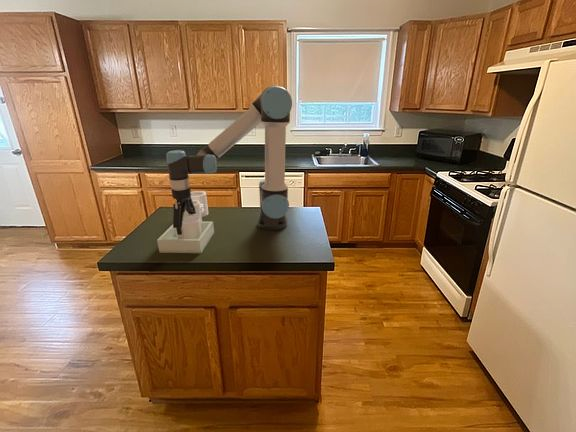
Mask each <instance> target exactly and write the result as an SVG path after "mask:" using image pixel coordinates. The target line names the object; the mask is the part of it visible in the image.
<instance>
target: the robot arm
mask: <svg viewBox="0 0 576 432" xmlns="http://www.w3.org/2000/svg"><path fill="white" fill-rule="evenodd" d="M292 107H293V99H292V96H291V93H290V92H289V91H288V90H287V89H286V88H285V87H283V86H280V85H271V86H269V87H267V88H265V89H264V90H263V91H262V92H261V93H260V95H259V96H257V98H256V99H255V100H254V101H252V103H250V107H249V108H248V109H247V110H245V112H244V113H243V114H241V115H240V116H238V118H236V120H235V121H233V122H232V123H231V124H230V125H229V126H227V127H226V128H225V129H224V130H223V131H222V132H221V133H220V134H218V135H217V136H216V137H215V138H214V139H212V140H211V141H210V142H209V143H208V144H207V145H205V146H204V147H203V148H202V149H200V150H198V151H197V153H196V155H194V154H193V155H186V152H185V151H184V150H180V149H179V150H178V149H177V150H170V151H168V152H166V165H167V171H168V177H169V180H168V181H169V183H170V188H171V190H170V191H171V196H172V197H171V198H173V199H175V200H176V203H172V204H173V206H172V207H173V217H172V219H173V221H172V222H173V223H172V225H173V228H176V230H177V236H178V239H185V236H184V230H183V226H182V221H183V214H184V212H185V209H186V211H187V212H188V217H189V216H194V214H196V211H195V207H194V205H193V202H192V199H191V192H192V191H191V188H190V178H189V175H193V174H194V175H195V174H197V175H198V174H199V175H200V174H208V175H209V174H213V173H216V172H217V170H218V169H217V168H218V165H217V164H218V163H217V162H218V161H217V160H218V159H219V158H221V157H222V156H223V155H224V154H225V153H226V152H228V151H229V150H230V149H231V148H232V147H233V146H235V145H236V144H238V143H239V142H240V141H241V140H242V139H243V138H245V136H247V135H248V134H249V133H250V132H252V131H253V130H254V129H255V128H256V127H257V126H259V125H260V124H261V123H262V124H263V125H264V180H261V181H259V183H258V189H259V191H258V192H259V206H260V207H259V208H260V209H259V215H258V218H257V227H258V228H259V229H262V230H265V231H277V230H278V231H279V230H282V229H284V228H286V227H287V226H288V219H287V216H286V215H287V213H288V211H289V209H290V202H289V200H288V197H289V195H288V194H289V189H288V188H289V186H288V185H287V184H286V181H285V180H286V179H285V178H286V177H285V176H286V141H287V140H286V137H287V136H286V134H287V126H288V125H289V124H290V123H291V122H290V121H291V110H292ZM192 208H193V209H192Z"/></svg>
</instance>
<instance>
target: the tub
mask: <svg viewBox="0 0 576 432" xmlns="http://www.w3.org/2000/svg"><path fill="white" fill-rule="evenodd" d="M200 224H201V232H202V235H201V236H200V237H199V239H178V237H177V236H176V235H175V233H174V228H173V224H171V225H170V227H169V228H167V230H165V232H164V233H162V234H161V235H160V236H159V238H157V240H156V241H157V242H156V243H157V247H158V251H159V254H160V253H161V254H202V253H203V252H204V249H205V248H206V247H207V246H208V244H209V242H210V241H211V239H212V237H213V236H214V235H215V228H214V227H215V226H214V221H203V220H202V221H200ZM176 231H177V230H176Z"/></svg>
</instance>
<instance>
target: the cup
mask: <svg viewBox="0 0 576 432" xmlns="http://www.w3.org/2000/svg"><path fill="white" fill-rule="evenodd" d="M182 226H183V230H184V236H185V239H199V237H200V236H201V235H202V232H201V224H200V218H199V217H196V216H189V217H185V218H183V221H182ZM174 233H175V235H176V236H177V231H176V228H174ZM177 237H178V236H177Z"/></svg>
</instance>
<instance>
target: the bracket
mask: <svg viewBox="0 0 576 432" xmlns="http://www.w3.org/2000/svg"><path fill="white" fill-rule="evenodd" d="M190 192H191V199H192V202H193V205H194V207H195V211H196V214H194V216H196V217H199V218H200V221H203V218H204V217H206V215H207V216H208V215H209V207H208V200H207V199H208V197H207V192H205V191H204V190H193V191H190ZM192 209H193V208H192ZM185 217H188V212H187V211H186V209H185V212H184V214H183V218H185Z"/></svg>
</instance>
